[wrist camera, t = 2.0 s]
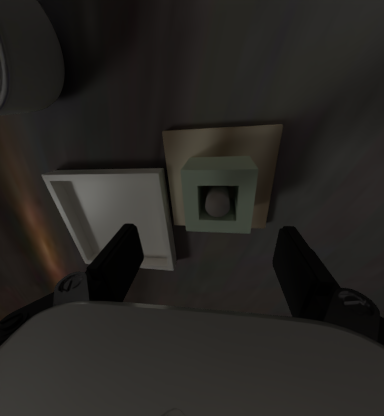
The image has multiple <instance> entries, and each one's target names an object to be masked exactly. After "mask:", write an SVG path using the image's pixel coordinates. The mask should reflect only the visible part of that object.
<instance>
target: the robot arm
mask: <svg viewBox="0 0 384 416" xmlns="http://www.w3.org/2000/svg"><path fill="white" fill-rule="evenodd" d="M143 260H144V253H143V249H142V245H141V241H140V237H139V233H138V229H137V226H135V225H134V224H130V223H125V224H124V225H123V226H122V227H121V228H120V229H119V231H118V232H117V233H116V234H115V235H114V236H113V238H112V239H111V240H110V241H109V242H108V244H107V245H106V246H105V247H104V248H103V249H102V251H101V252H100V253H99V254H98V255H97V256H96V258H95V259H94V260H93V261H92V262H91V264H90V265H89V266H88V267H87V271H86V272H85V273H84V272H74V273H71V274H69V275H67V276H65V277H64V278H63V279H61V280H60V281H59V282H58V283H57V285H56V286H55V290H54V292H53V293H51V294H49V295H47V296H45V297H43V298H41V299H39V300H37V301H35V302H33V303H31V304H28V305H26V306H24V307H22V308H20V309H18V310H16V311H14V312H12V313H11V314H9V315H8V316H6V317H5V318H3V319H2V320H1V321H0V416H384V318H382V317H380V311H379V309H378V307H377V306H376V305H375V303H374V302H373V301H372V300H370V299H369V298H368V297H367V296H365V295H363V294H362V293H360V292H358V291H355V290H353V289H349V288H341V287H340V286H339V285H338V283H337V282H336V281H335V279H334V278H333V277H332V275H331V274H330V272H329V271H328V270H327V268H326V267H325V266H324V264H323V263H322V262H321V260H320V259H319V257H318V256H317V255H316V253H315V252H314V251H313V250H312V249H310V247H309V246H308V244H307V243H306V242H305V240H304V239H303V237H302V236H301V235H300V233H299V232H298V231H297V229H296V228H295V227H293V226H284V227H283V228H282V229H280V230H279V234H278V239H277V243H276V248H275V252H274V257H273V267H274V270H275V272H276V275H277V278H278V280H279V283H280V285H281V288H282V290H283V293H284V296H285V298H286V301H287V303H288V306H289V309H290V311H291V314H292V316H293V317H287V316H278V315H268V314H257V313H246V312H235V311H224V310H213V309H201V308H189V307H177V306H165V305H152V304H139V303H127V302H123V300H124V298H125V296H126V294H127V292H128V290H129V288H130V286H131V284H132V282H133V280H134V278H135V276H136V274H137V272H138V270H139V268H140V266H141V264H142V262H143Z"/></svg>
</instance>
